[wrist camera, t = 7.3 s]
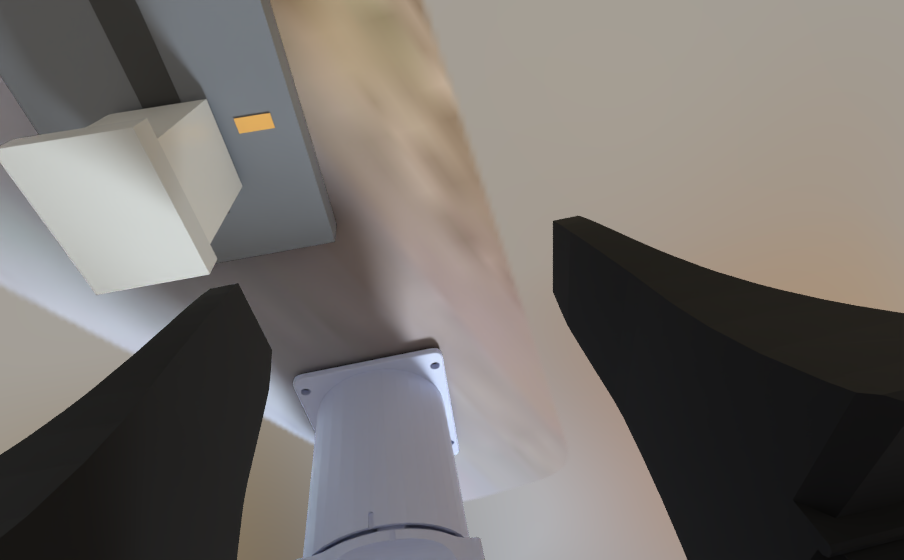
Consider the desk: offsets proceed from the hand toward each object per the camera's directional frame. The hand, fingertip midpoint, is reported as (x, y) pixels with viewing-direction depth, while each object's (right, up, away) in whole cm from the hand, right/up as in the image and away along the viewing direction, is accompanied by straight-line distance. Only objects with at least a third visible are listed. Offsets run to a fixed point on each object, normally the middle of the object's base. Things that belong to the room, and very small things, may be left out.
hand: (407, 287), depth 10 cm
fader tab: (-8, +5, +5) cm, 10 cm away
